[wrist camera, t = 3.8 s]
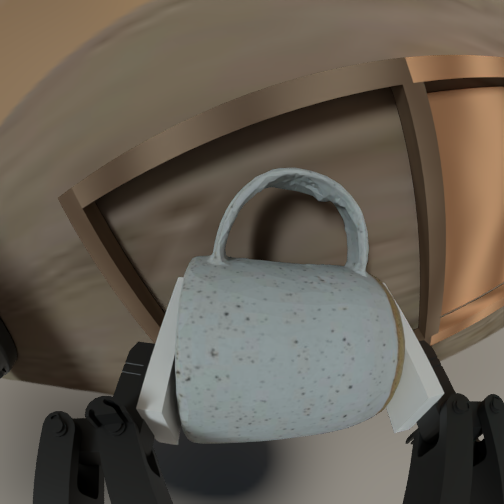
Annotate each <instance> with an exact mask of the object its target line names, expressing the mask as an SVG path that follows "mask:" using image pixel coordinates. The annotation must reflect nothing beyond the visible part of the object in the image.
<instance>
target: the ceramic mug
mask: <svg viewBox="0 0 504 504" xmlns="http://www.w3.org/2000/svg"><path fill="white" fill-rule="evenodd" d="M269 187H276V188H281V189H287V190H294V191H298V192H302V193H305V194H309V195H312V196H314V197H315V198H316V199H317V200H318V201H323V202H326V201H331V202H332V203H334V204H335V206H336V208H337V209H338V211H339V213H340V215H341V216H342V218H343V221H344V224H345V231H346V233H347V247H348V252H347V262H346V265H345V266H336V265H324V264H321V265H314V264H291V263H284V262H273V261H264V260H254V259H248V258H232V257H228V256H227V255H226V252H225V247H226V242H227V238H228V235H229V232H230V229H231V227H232V225H233V223H234V221H235V219H236V217H237V215H238V213H239V211H240V210H241V208H242V207H243V206H244V204H245V203H246V202H247V201H249V200H250V199H251V198H252V197H253V196H254V195H255V194H256V193H258V192H261V191H262V190H263V189H264V188H269ZM368 251H369V245H368V232H367V228H366V224H365V221H364V217H363V214H362V212H361V209H360V207H359V206H358V204H357V203H356V202H355V200H354V199H353V197H352V196H351V195H350V194H349V193H348V192H347V191H346V190H345V189H344V188H343V187H342V186H341V185H340V184H339V183H337V182H336V181H334V180H332V179H330V178H328V177H327V176H325V175H322V174H319V173H316V172H313V171H309V170H304V169H299V168H279V169H273V170H271V171H269V172H266V173H264V174H262V175H260V176H257V177H255V178H254V179H253V180H252V181H251V182H249V183H248V184H247V185H246V186H245V187H243V188H242V189H241V190H240V191H239V193H238V194H237V195H236V196H235V197H234V199H233V200H232V202H231V203H230V205H229V206H228V208H227V210H226V211H225V214H224V216H223V218H222V221H221V223H220V226H219V229H218V233H217V236H216V240H215V245H214V250H213V253H212V255H211V256H197V257H194V258H193V259H192V260H191V262H190V263H189V265H188V268H187V270H186V272H185V275H184V278H183V282H182V288H181V293H180V297H179V303H178V314H177V325H176V344H175V375H176V396H177V403H178V413H179V416H180V421H181V424H182V428H183V431H184V433H185V435H186V437H187V438H188V439H189V440H190V441H192V442H195V443H236V442H252V441H266V440H278V439H286V438H294V437H301V436H310V435H317V434H323V433H328V432H333V431H337V430H341V429H345V428H349V427H351V426H354V425H356V424H359V423H361V422H363V421H365V420H368V419H370V418H372V417H373V416H375V415H377V414H378V413H380V412H381V411H382V410H383V409H384V408H385V407H386V406H387V405H388V404H389V402H390V401H391V399H392V398H393V395H394V393H395V391H396V389H397V387H398V385H399V382H400V379H401V375H402V371H403V365H404V359H405V337H404V330H403V324H402V320H401V316H400V312H399V309H398V307H397V305H396V303H395V300H394V298H393V297H392V295H391V294H390V292H389V291H388V289H387V288H386V286H385V285H384V284H383V283H382V282H381V281H380V280H379V279H377V278H376V277H375V276H373V275H371V274H369V273H367V272H366V265H367V262H368Z"/></svg>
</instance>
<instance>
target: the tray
mask: <svg viewBox="0 0 504 504" xmlns="http://www.w3.org/2000/svg"><path fill="white" fill-rule="evenodd" d="M472 77H504V58H503V57H492V56H476V55H433V56H417V57H405V58H396V59H388V60H380V61H374V62H367V63H361V64H356V65H351V66H346V67H341V68H336V69H332V70H327V71H323V72H319V73H315V74H311V75H307V76H303V77H300V78H296V79H293V80H289V81H286V82H283V83H279V84H276V85H273V86H270V87H267V88H264V89H261V90H258V91H255V92H253V93H250V94H247V95H244V96H242V97H239V98H236V99H234V100H231V101H229V102H226V103H224V104H221V105H219V106H216V107H214V108H212V109H209V110H207V111H205V112H202V113H200V114H198V115H196V116H194V117H191V118H189V119H187V120H185V121H183V122H181V123H179V124H177V125H175V126H173V127H171V128H169V129H167V130H165V131H163V132H161V133H159V134H157V135H155V136H153V137H151V138H150V139H148V140H146V141H144V142H142V143H141V144H139V145H137V146H135V147H134V148H132V149H130V150H128V151H127V152H125V153H123V154H122V155H120V156H118V157H117V158H115V159H113V160H112V161H110V162H109V163H107V164H106V165H104V166H102V167H101V168H99V169H98V170H96V171H95V172H93V173H92V174H90V175H89V176H87V177H86V178H85V179H83V180H82V181H80V182H79V183H77V184H76V185H75V186H73V187H72V188H71V189H69V190H68V191H66V192H65V193H64V194H62V195H61V196H60V197H59V198H58V200H59V202H60V203H61V205H62V207H63V209H64V211H65V213H66V215H67V217H68V218H69V220H70V222H71V224H72V226H73V227H74V229H75V231H76V233H77V234H78V236H79V238H80V239H81V241H82V243H83V244H84V246H85V248H86V249H87V251H88V253H89V254H90V256H91V257H92V259H93V260H94V262H95V264H96V265H97V267H98V268H99V270H100V271H101V273H102V274H103V276H104V277H105V279H106V280H107V282H108V283H109V284H110V286H111V287H112V289H113V290H114V292H115V293H116V294H117V296H118V297H119V299H120V300H121V301H122V303H123V304H124V305H125V307H126V308H127V309H128V311H129V312H130V313H131V315H132V316H133V317H134V318H135V320H136V321H137V322H138V324H139V325H140V326H141V327H142V329H143V330H144V331H145V332H146V334H147V335H148V336H149V337H150V338H151V340H152V341H153V342H154V343H156V340H157V337H158V334H159V331H160V328H161V325H162V322H163V319H164V316H165V313H164V312H163V311H162V309H161V308H160V307H159V305H158V304H157V302H156V301H155V299H154V298H153V297H152V295H151V294H150V292H149V291H148V289H147V288H146V286H145V285H144V283H143V282H142V280H141V279H140V277H139V276H138V274H137V273H136V271H135V270H134V268H133V266H132V265H131V263H130V262H129V260H128V258H127V257H126V255H125V254H124V252H123V250H122V249H121V247H120V245H119V244H118V242H117V240H116V239H115V237H114V235H113V234H112V232H111V230H110V228H109V227H108V225H107V223H106V221H105V220H104V218H103V216H102V214H101V212H100V211H99V209H98V207H97V205H96V203H95V200H97V199H98V198H100V197H102V196H103V195H105V194H107V193H108V192H110V191H112V190H113V189H115V188H117V187H119V186H120V185H122V184H124V183H126V182H127V181H129V180H131V179H133V178H135V177H137V176H138V175H140V174H142V173H144V172H146V171H148V170H150V169H152V168H154V167H156V166H158V165H160V164H162V163H164V162H166V161H168V160H170V159H172V158H174V157H176V156H178V155H180V154H182V153H184V152H187V151H189V150H191V149H193V148H195V147H198V146H200V145H202V144H204V143H207V142H209V141H211V140H214V139H216V138H218V137H221V136H223V135H226V134H228V133H231V132H233V131H236V130H238V129H241V128H244V127H246V126H249V125H252V124H254V123H257V122H260V121H263V120H266V119H268V118H271V117H274V116H277V115H280V114H283V113H286V112H290V111H293V110H296V109H299V108H303V107H306V106H309V105H313V104H316V103H320V102H324V101H327V100H331V99H335V98H339V97H343V96H347V95H351V94H356V93H360V92H365V91H370V90H375V89H380V88H385V87H391V88H392V92H393V95H394V98H395V102H396V105H397V109H398V112H399V116H400V120H401V124H402V128H403V132H404V137H405V141H406V146H407V151H408V156H409V161H410V166H411V172H412V179H413V185H414V192H415V200H416V209H417V219H418V231H419V247H420V311H419V327H418V328H417V329H415V330H413V332H414V334H415V336H416V338H417V339H418V341H422V340H425V341H426V342H427V343H428V344H429V345H430V346H431V345H433V344H435V343H437V342H439V341H442V340H444V339H446V338H448V337H450V336H452V335H454V334H456V333H457V332H459V331H461V330H463V329H465V328H467V327H469V326H470V325H472V324H474V323H476V322H478V321H479V320H481V319H483V318H484V317H486V316H488V315H489V314H491V313H493V312H494V311H496V310H498V309H499V308H501V307H502V306H504V284H503V285H501V286H499V287H498V288H496V289H494V290H493V291H491V292H489V293H487V294H486V295H484V296H482V297H480V298H479V299H477V300H475V301H473V302H471V303H469V304H467V305H466V306H464V307H462V308H460V309H458V310H456V311H454V312H452V313H450V314H448V315H446V316H444V317H441V315H443V314H446V313H448V312H450V311H452V310H454V309H456V308H458V307H460V306H462V305H464V304H466V303H467V302H469V301H471V300H473V299H475V298H477V297H479V296H480V295H482V294H484V293H486V292H487V291H489V290H491V289H493V288H494V287H496V286H498V285H499V284H501V283H503V282H504V86H499V87H478V88H465V89H454V90H445V91H437V92H430V93H427V92H426V88H425V85H424V81H432V80H442V79H454V78H472Z"/></svg>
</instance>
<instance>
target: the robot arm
mask: <svg viewBox="0 0 504 504" xmlns="http://www.w3.org/2000/svg"><path fill="white" fill-rule="evenodd" d="M183 278H184V277H178V280H177V282H176V285H175V288H174V291H173V294H172V296H171V299H170V302H169V305H168V308H167V311H166V313H165V316H164V319H163V322H162V325H161V328H160V331H159V334H158V337H157V340H156V343H155V344H152V343H144V342H138V343H137V344H136V345H135V346H134V347H133V348H132V349H131V350H130V352H129V354H128V357H127V359H126V364H125V365H124V367H123V370H122V373H121V376H120V378H119V381H118V384H117V387H116V390H115V393H114V396H113V397H111V396H101V397H98V398H95V399H94V400H93V401H91V402H90V403H89V405H88V406H87V408H86V412H85V417H86V418H80V419H72V418H71V417H70V416H69V415H68V414H67V413H64V412H62V411H56V412H53V413H51V414H49V415H48V416H47V417H46V419H45V421H44V423H43V427H42V432H41V437H40V443H39V449H38V456H37V462H36V470H35V479H34V492H33V504H104V477H105V481H106V485H107V490H108V494H109V497H110V500H111V504H173V502H172V500H171V497H170V495H169V492H168V489H167V487H166V484H165V481H164V478H163V475H162V472H161V470H160V466H159V463H158V460H157V457H156V454H155V451H154V449H153V447H152V446H153V441H154V437H155V439H156V440H157V441H158V442H162V443H168V444H175V445H178V441H179V435H180V428H181V421H180V416H179V413H178V403H177V396H176V375H175V344H176V325H177V314H178V303H179V297H180V293H181V288H182V282H183ZM383 284H384V285H385V283H383ZM385 286H386V285H385ZM386 288H387V286H386ZM387 289H388V288H387ZM388 291H389V290H388ZM389 292H390V291H389ZM390 294H391V293H390ZM391 295H392V294H391ZM392 297H393V296H392ZM394 300H395V299H394ZM395 303H396V301H395ZM396 305H397V307H398V309H399V312H400V316H401V320H402V324H403V330H404V337H405V359H404V365H403V371H402V375H401V379H400V382H399V385H398V387H397V389H396V391H395V393H394V395H393V398H392V399H391V401H390V402H389V404H388V405H387V406H386V408H387V411H388V415H389V418H390V421H391V424H392V428H393V431H394V433H398V432H401V431H405V430H409V429H410V428H411V427H412V426H413V425H414V424H415V423H417V425H418V429H417V430H415V431H414V432H413V433H412V434H411V435H410V436H409V437H408V438H407V440H406V444H408V443H409V442H410V441H411V440H413V439H414V440H413V441H412V442H411V444H413V449H412V457H411V464H410V470H409V475H408V481H407V486H406V491H405V495H404V500H403V504H504V403H503V401H502V399H501V398H500V397H499V396H497V395H495V394H491V395H489V396H487V397H486V398H485V399H484V400H483V401H482V402H473V401H472V402H470V401H469V400H468V398H467V397H465V396H464V395H462V394H459V393H456V392H455V391H454V389H453V387H452V385H451V383H450V381H449V379H448V377H447V375H446V373H445V371H444V369H443V367H442V366H441V363H440V361H439V359H437V356H436V354H435V352H434V350H433V348H432V347H431V346H430V345H429V344H428V343H427V342H426V341H425V340H422V341H418V339H417V338H416V336H415V334H414V332H413V330H412V329H411V327H410V325H409V323H408V321H407V320H406V318H405V316H404V315H403V313H402V311H401V309H400V308H399V306H398V304H397V303H396ZM16 360H17V352H16V348H15V345H14V343H13V341H12V339H11V337H10V335H9V333H8V331H7V330H6V328H5V326H4V324H3V323H2V321H1V320H0V378H2V377H3V376H4V375H6V374H7V373H8V372H9V371H10V370H11V368H12V366H13V365H14V363H15V361H16ZM482 434H483V435H484V439H483V440H482V441H480V440H479V439H478V437H479V436H481V435H482Z"/></svg>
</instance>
